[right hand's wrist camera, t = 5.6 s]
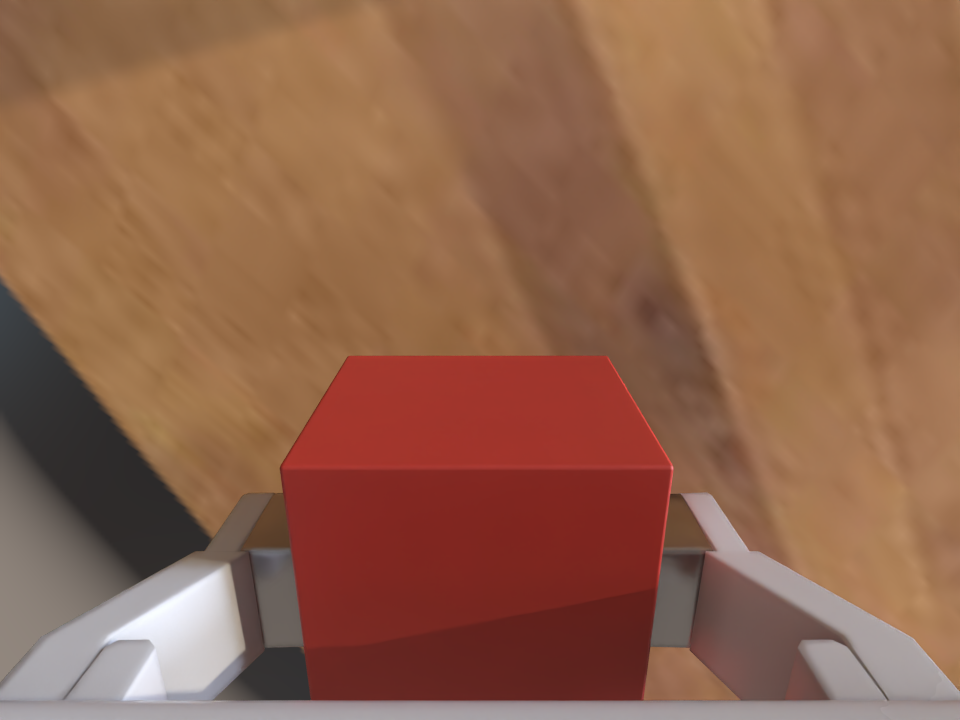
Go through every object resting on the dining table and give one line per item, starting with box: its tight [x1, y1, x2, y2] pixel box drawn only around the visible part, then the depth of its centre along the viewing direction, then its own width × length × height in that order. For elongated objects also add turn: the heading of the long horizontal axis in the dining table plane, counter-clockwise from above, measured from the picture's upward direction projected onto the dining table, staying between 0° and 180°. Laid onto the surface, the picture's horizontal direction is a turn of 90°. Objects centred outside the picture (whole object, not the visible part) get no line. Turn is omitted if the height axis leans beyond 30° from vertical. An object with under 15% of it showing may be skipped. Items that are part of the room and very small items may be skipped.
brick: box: [280, 356, 673, 701], centre depth 10 cm, size 5×5×4 cm
